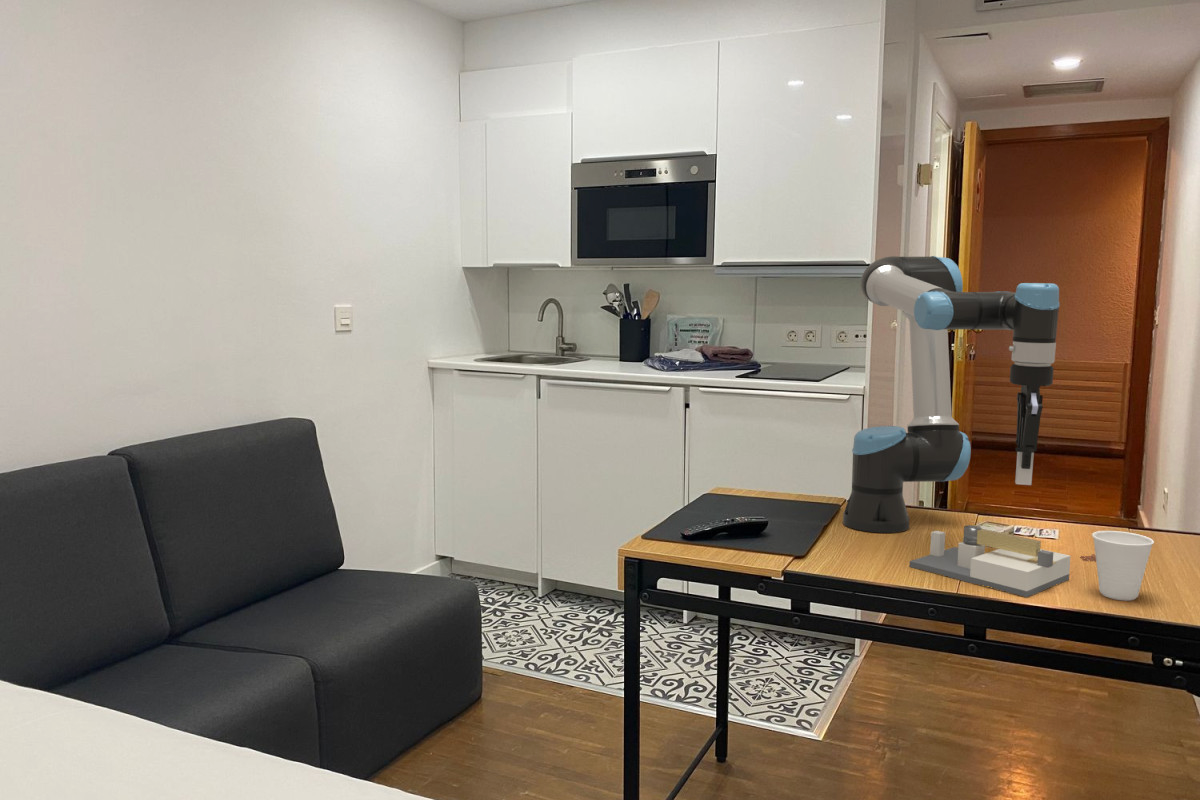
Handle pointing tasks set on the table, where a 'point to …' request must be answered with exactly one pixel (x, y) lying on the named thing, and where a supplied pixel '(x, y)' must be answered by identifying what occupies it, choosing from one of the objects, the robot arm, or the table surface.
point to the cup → (1121, 562)
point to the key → (1089, 558)
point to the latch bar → (1001, 540)
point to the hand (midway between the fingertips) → (1023, 483)
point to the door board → (964, 573)
